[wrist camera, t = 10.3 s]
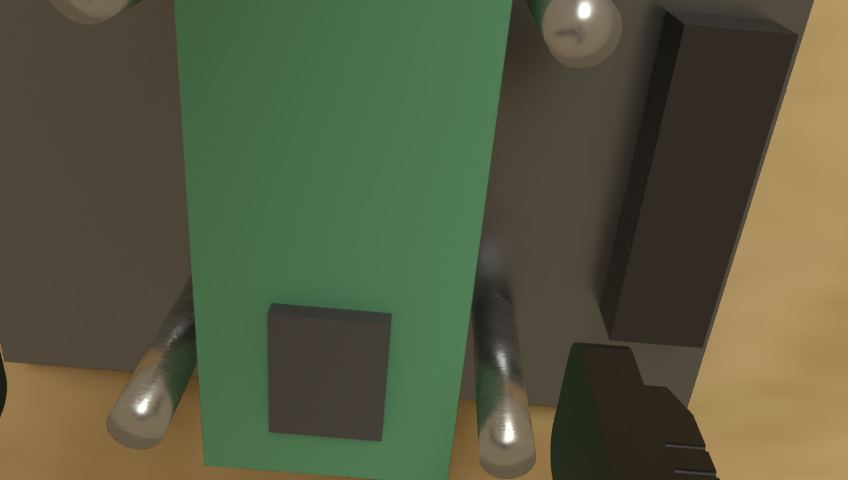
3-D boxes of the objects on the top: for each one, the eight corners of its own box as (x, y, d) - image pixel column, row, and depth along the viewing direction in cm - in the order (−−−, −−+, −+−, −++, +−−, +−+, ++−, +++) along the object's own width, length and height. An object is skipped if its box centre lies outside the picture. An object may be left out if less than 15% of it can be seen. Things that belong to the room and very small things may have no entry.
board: (218, -128, 14) (157, -119, 11) (509, -100, 14) (525, -84, 11) (236, 381, 20) (198, 478, 17) (446, 399, 20) (446, 498, 17)
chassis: (-94, -239, 16) (-391, -282, 10) (838, -152, 17) (1048, -147, 11) (21, 341, 23) (-119, 507, 17) (675, 395, 24) (749, 575, 18)
